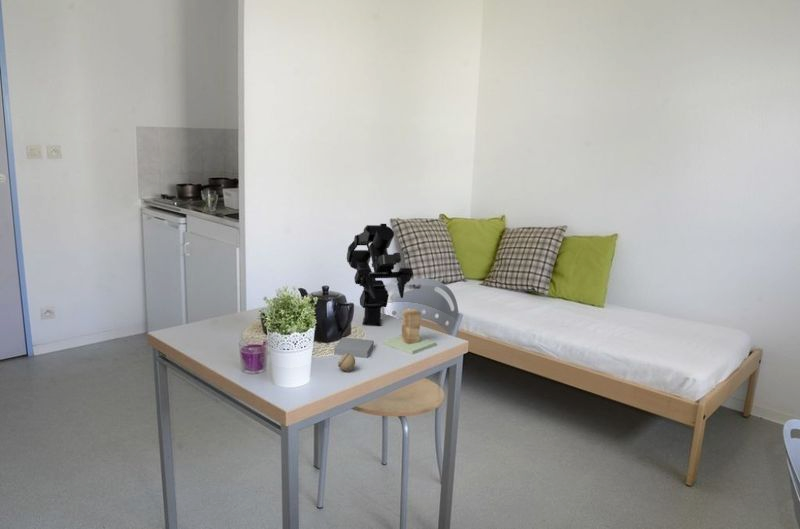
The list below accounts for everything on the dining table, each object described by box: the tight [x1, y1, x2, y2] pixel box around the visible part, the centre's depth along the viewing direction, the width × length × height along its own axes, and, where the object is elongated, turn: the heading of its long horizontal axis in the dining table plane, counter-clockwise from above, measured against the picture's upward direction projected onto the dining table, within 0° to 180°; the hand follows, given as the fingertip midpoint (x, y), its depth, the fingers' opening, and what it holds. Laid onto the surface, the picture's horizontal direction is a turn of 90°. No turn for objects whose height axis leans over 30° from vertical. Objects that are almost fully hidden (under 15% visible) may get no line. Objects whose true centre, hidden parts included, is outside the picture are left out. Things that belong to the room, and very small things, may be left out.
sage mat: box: [382, 334, 437, 355], centre depth 193 cm, size 12×12×1 cm
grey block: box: [333, 336, 375, 359], centre depth 185 cm, size 10×10×2 cm
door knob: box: [337, 353, 356, 372], centre depth 169 cm, size 5×5×5 cm
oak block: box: [401, 308, 422, 344], centre depth 192 cm, size 4×4×10 cm
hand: (388, 298), depth 195 cm, fingers open, 9 cm apart
